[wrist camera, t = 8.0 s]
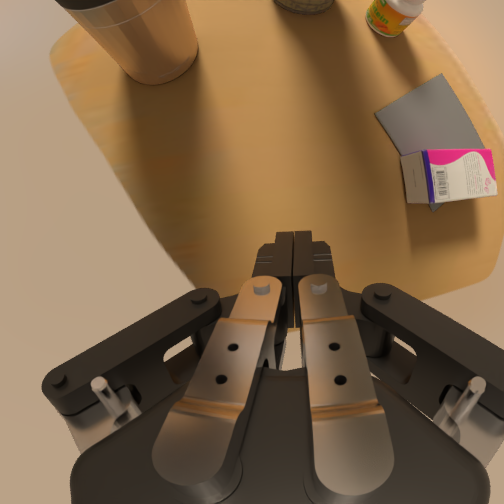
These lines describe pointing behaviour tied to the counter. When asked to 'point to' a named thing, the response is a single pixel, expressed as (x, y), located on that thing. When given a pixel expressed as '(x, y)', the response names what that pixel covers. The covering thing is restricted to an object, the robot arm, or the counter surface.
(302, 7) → the thermos
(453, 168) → the supplement box
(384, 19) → the supplement bottle
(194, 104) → the counter surface
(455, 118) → the rubber mat
